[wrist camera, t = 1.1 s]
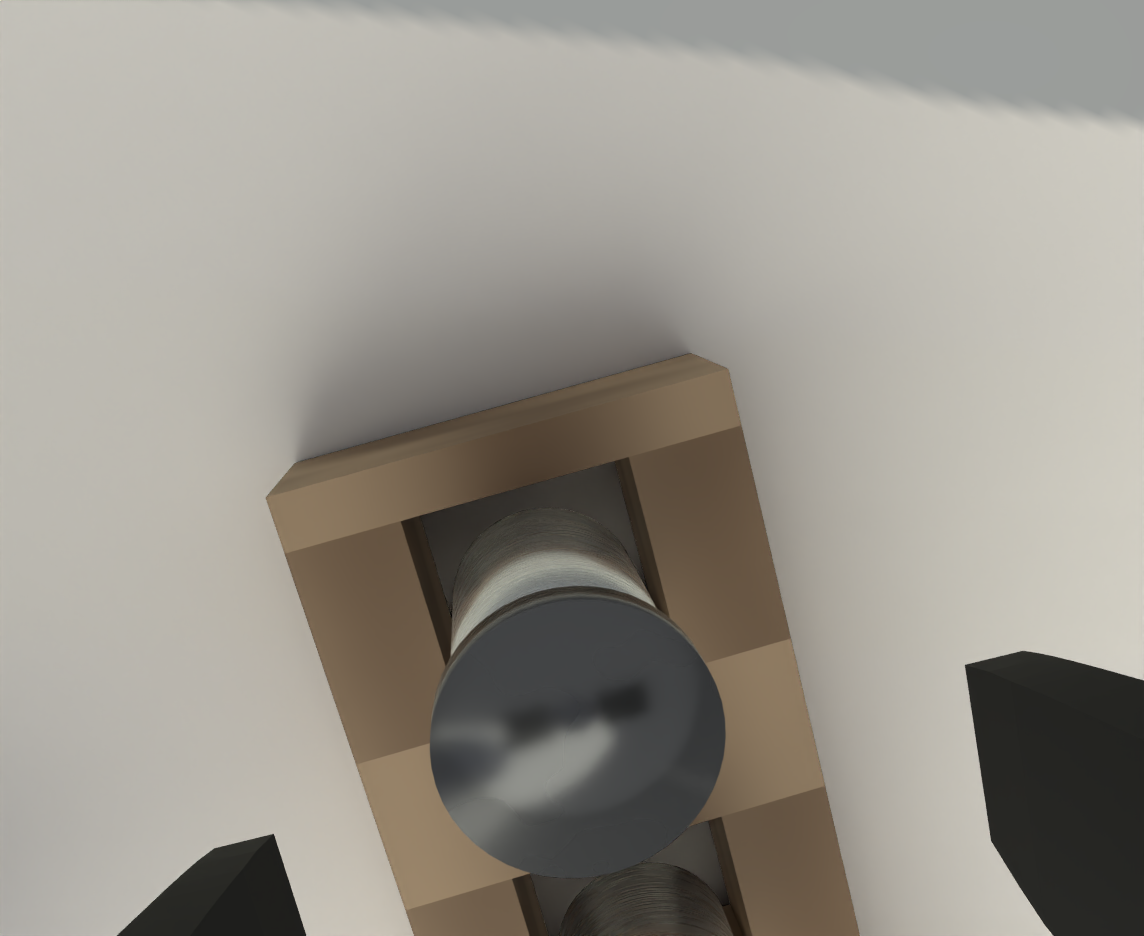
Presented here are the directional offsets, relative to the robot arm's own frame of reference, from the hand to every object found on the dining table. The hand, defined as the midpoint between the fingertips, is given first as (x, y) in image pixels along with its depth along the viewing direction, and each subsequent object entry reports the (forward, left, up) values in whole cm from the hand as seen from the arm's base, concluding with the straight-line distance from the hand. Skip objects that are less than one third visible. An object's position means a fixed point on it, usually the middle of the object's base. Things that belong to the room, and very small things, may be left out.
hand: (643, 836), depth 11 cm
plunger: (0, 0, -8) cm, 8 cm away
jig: (0, -7, -11) cm, 13 cm away
